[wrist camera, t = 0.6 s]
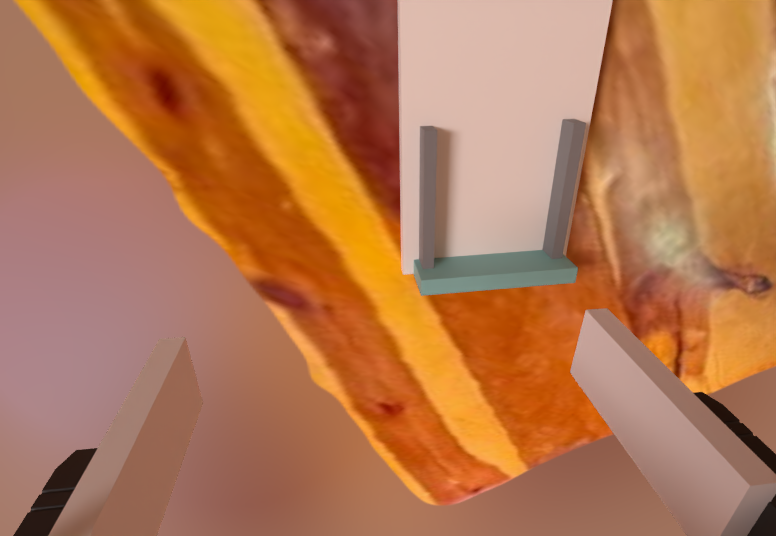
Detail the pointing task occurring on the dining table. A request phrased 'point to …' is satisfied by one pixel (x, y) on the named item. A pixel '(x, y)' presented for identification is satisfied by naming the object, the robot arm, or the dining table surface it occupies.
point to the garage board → (493, 137)
